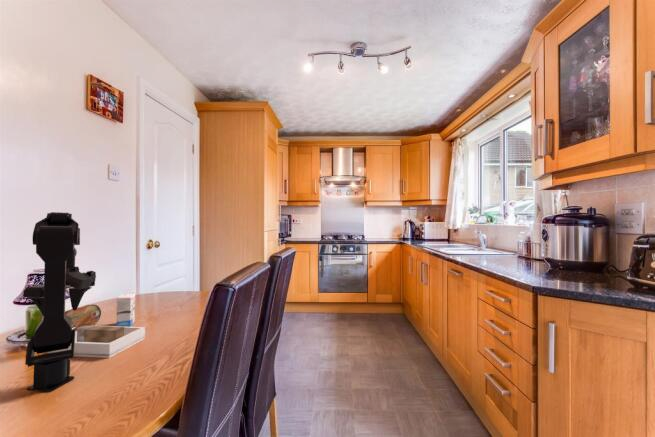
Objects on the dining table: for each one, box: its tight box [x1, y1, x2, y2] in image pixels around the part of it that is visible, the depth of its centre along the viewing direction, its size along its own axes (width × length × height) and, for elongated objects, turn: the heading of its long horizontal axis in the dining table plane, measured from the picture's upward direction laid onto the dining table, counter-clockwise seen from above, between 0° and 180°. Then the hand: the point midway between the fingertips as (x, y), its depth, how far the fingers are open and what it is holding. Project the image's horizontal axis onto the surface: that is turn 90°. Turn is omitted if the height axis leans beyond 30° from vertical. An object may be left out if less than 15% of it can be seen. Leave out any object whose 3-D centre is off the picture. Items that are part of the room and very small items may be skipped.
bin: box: [47, 325, 146, 359], centre depth 101 cm, size 16×20×4 cm
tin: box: [65, 304, 102, 332], centre depth 118 cm, size 15×3×8 cm, turn 168°
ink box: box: [116, 293, 136, 327], centre depth 123 cm, size 9×5×12 cm, turn 22°
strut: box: [77, 325, 125, 343], centre depth 101 cm, size 14×4×5 cm, turn 86°
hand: (61, 314), depth 96 cm, fingers open, 9 cm apart
